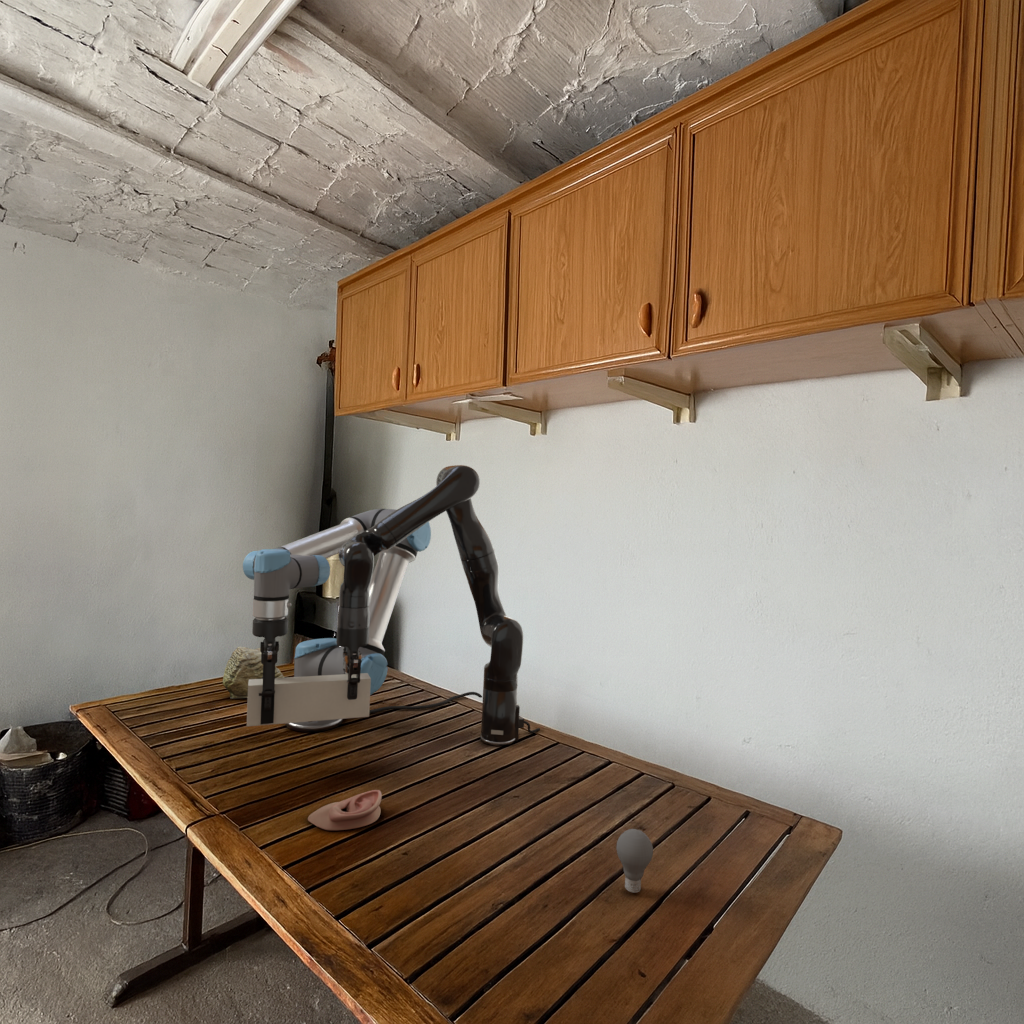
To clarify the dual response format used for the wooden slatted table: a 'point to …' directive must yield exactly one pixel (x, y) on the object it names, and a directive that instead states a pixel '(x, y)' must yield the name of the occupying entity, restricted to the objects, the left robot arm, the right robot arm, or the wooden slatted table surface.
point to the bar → (310, 699)
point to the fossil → (244, 671)
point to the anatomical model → (349, 812)
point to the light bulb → (634, 857)
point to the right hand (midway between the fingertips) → (350, 695)
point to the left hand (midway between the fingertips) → (266, 718)
